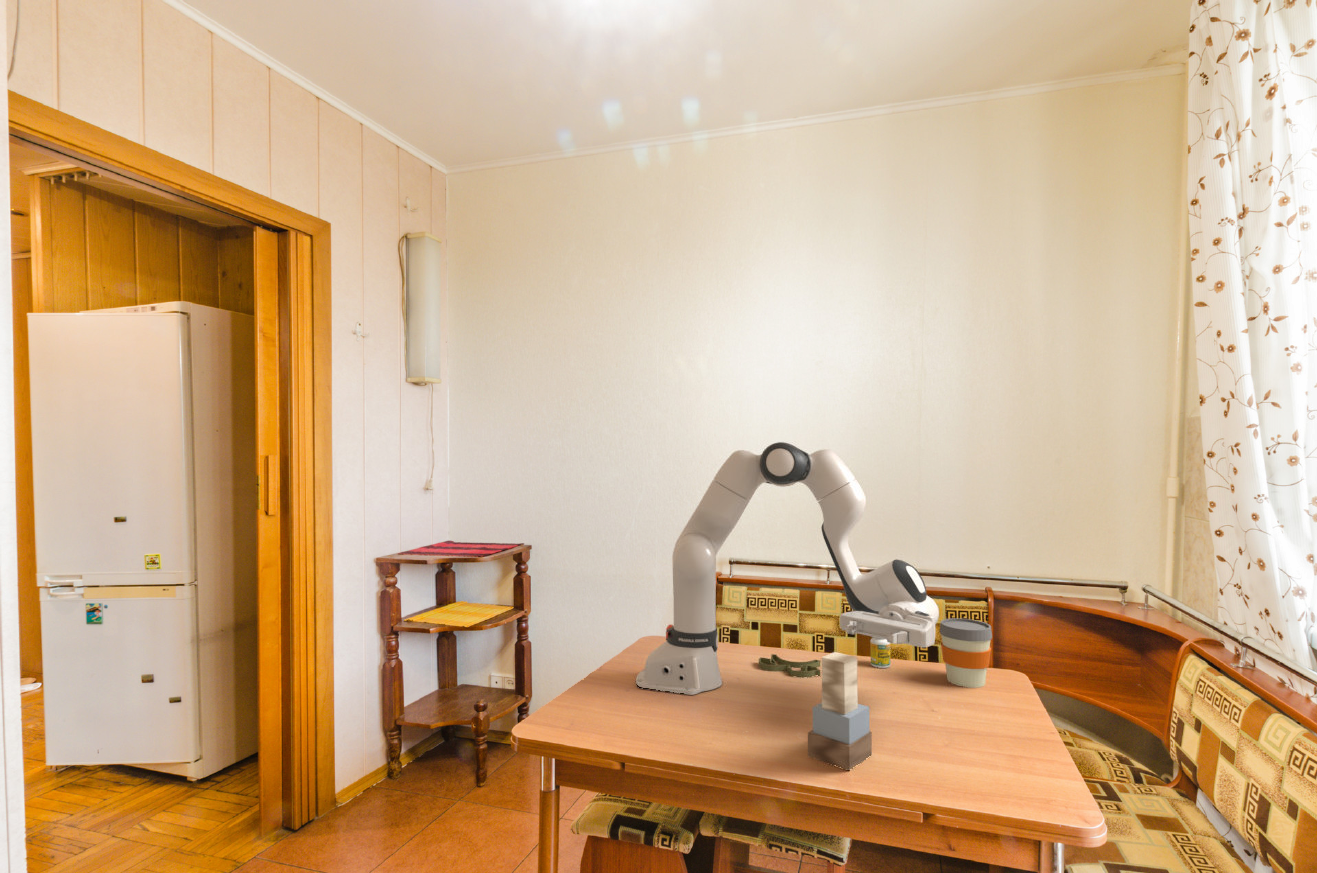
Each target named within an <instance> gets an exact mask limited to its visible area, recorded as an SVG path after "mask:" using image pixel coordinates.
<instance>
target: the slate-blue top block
mask: <svg viewBox="0 0 1317 873" xmlns="http://www.w3.org/2000/svg"><path fill="white" fill-rule="evenodd" d="M812 730H813V733H816V734H819V735H822V736H825V737H828V738H831V739H834V740H837V741H840V742H843V743H846V744H849V745H850V744H851V743H853V742H855V741H856V740H858V739H859V738H861V737H863V736H864V735H866V734H867V733H869V731H870V706H867V705H864V704H860V703H858V708H857V709H855V710H853V711H851V712H849V713H847V714H846V715H843V714H840V713H837V712H833V711H830V710H827V709H823V708H822V702H820V703H818V704H816V705H815V706H814V705H813V706H812Z"/></svg>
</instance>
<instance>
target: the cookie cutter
mask: <svg viewBox="0 0 1317 873" xmlns="http://www.w3.org/2000/svg"><path fill="white" fill-rule="evenodd" d="M777 663H778V664H777ZM769 664H770V665H769ZM758 667H759V669H761V670H763V669H764V671H766V670H767V671H768V672H787V674H788V673H789V674H788V675H791V676H790V677H793V676H796V677H795V678H801V677H802V679H805V678H804V677H807V678H808V677H809V678H813V677H812V676H814V677H816V676H815V675H818V676H820V677H821V669H819V668H820V667H821V660H819V659H813V660H808V661H791V660H786V659H783V658H781V657H779V656H778V655H777V654H773V653H772V654H771V655H770V658H768V657H759V658H758ZM792 667H793V668H792ZM817 667H818V668H817ZM794 669H800V670H794ZM818 676H817V677H818ZM807 678H806V679H807Z"/></svg>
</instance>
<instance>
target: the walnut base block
mask: <svg viewBox="0 0 1317 873" xmlns="http://www.w3.org/2000/svg"><path fill="white" fill-rule="evenodd" d="M872 732H873V731H870V730H869V733H867V734H866V735H864V736H863V737H861V738H859V739H858V740H856V741H855V742H853V743H851V744H850V745H849V744H846V743H843V742H840V741H837V740H834V739H831V738H828V737H825V736H822V735H819V734H816V733H813V729H811V730H810V731H808V732H807V757H808V756H809V757H808V758H810V759H813V758H815V759H814V760H816V759H817V760H816V761H819V762H822V761H823V762H822V763H824V762H825V764H827V763H829V764H828V765H830V764H832V765H831V766H833V765H836V766H838V767H841V768H843V769H842V770H844V769H847V770H850V769H852V770H854V769H853V767H855V766H856V765H858V764H860V763H861V764H862V763H864V762H865V761H867V760H866V758H868V757H869V756H871V755H873V754H872V751H873V750H872V749H873V748H872V744H873V743H872V741H873V740H872V739H873V738H872V736H873V735H872ZM871 757H872V756H871ZM869 758H870V757H869ZM869 758H868V759H869ZM864 760H865V761H864ZM863 761H864V762H863ZM861 764H860V765H861ZM858 766H859V765H858ZM838 767H837V768H838ZM841 768H840V769H841ZM855 768H856V767H855Z"/></svg>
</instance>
